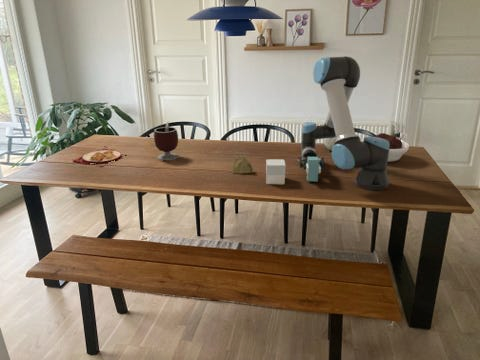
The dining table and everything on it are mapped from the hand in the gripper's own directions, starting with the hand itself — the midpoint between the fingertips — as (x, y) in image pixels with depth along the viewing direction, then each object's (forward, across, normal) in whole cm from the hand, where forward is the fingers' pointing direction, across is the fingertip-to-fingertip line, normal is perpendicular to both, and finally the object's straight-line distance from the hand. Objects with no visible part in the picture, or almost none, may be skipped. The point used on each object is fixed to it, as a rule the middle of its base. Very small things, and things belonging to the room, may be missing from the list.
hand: (313, 170), depth 182 cm
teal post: (-5, 0, -7) cm, 8 cm away
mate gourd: (-41, +83, -7) cm, 93 cm away
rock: (-16, +35, -8) cm, 40 cm away
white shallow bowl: (-43, -45, -8) cm, 62 cm away
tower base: (-5, +18, -8) cm, 20 cm away
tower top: (-5, +18, -3) cm, 19 cm away
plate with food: (-37, +122, -8) cm, 127 cm away
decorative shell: (-59, -21, -8) cm, 63 cm away
